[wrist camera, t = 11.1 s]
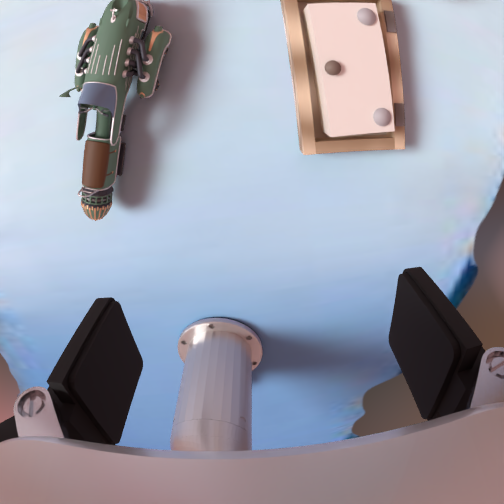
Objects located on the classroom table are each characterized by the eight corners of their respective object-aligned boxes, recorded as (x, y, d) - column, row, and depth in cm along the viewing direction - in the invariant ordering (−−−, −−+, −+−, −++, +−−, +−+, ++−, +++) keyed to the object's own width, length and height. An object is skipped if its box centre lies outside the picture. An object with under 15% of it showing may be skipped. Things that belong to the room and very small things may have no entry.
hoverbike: (186, 6, 25) (166, -16, 18) (142, 217, 37) (117, 251, 30) (105, 2, 24) (69, -14, 17) (74, 202, 36) (39, 231, 28)
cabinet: (393, 143, 32) (406, 149, 29) (299, 149, 33) (304, 155, 30) (379, -3, 24) (390, -10, 21) (279, -5, 24) (282, -14, 22)
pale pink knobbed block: (301, 13, 25) (308, 2, 21) (362, 11, 24) (377, 2, 20) (322, 131, 31) (332, 138, 27) (379, 125, 30) (396, 132, 27)
